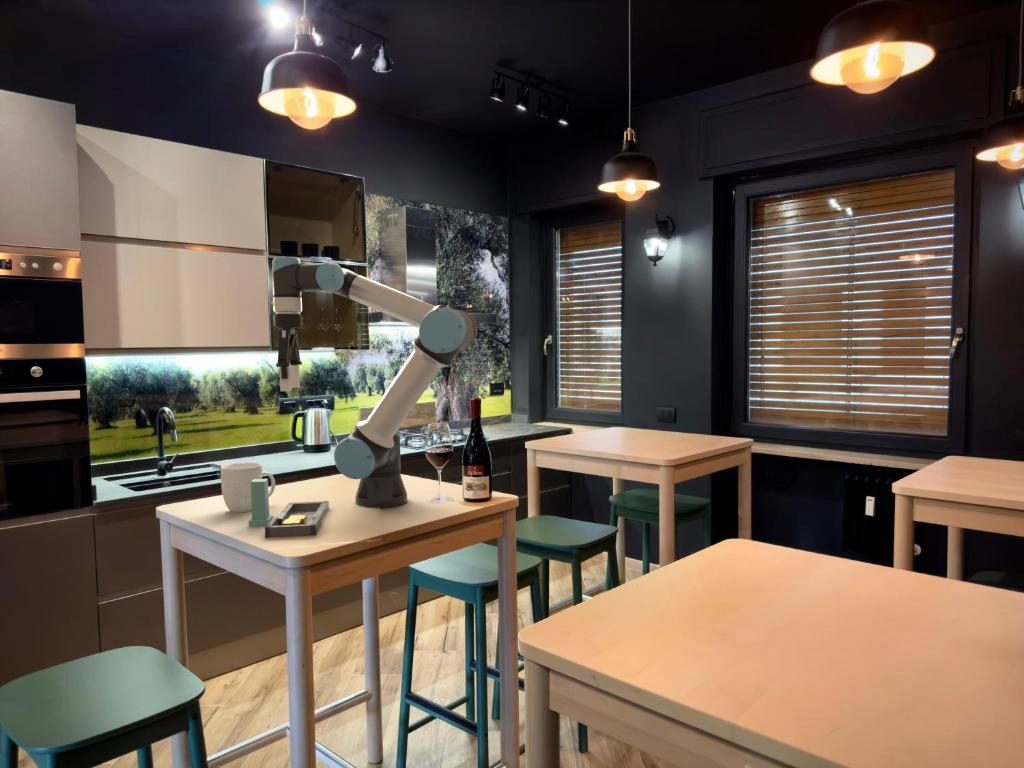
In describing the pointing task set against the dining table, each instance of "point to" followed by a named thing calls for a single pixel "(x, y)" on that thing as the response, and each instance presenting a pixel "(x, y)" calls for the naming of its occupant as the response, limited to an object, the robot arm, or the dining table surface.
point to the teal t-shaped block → (260, 503)
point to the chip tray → (292, 528)
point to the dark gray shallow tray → (304, 510)
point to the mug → (241, 484)
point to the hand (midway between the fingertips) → (290, 389)
